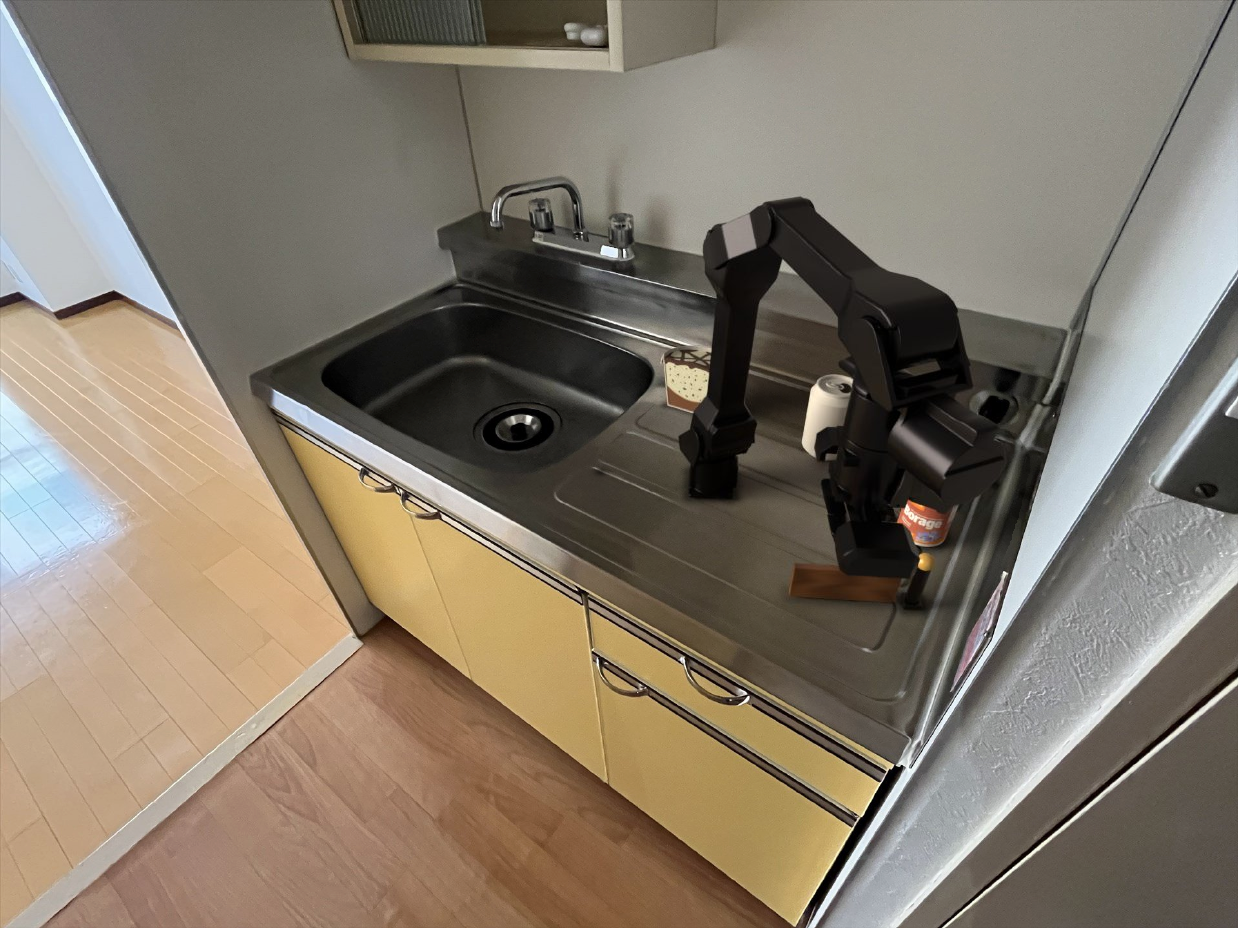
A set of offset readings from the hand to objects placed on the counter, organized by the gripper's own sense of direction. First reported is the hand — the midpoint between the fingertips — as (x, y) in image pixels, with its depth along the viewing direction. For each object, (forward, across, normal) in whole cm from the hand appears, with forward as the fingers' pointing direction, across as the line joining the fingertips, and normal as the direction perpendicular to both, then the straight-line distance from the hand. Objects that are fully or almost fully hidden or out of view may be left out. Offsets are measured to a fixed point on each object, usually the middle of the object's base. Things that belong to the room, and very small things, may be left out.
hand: (844, 557), depth 66 cm
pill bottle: (+13, +18, -15) cm, 27 cm away
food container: (+13, +48, +15) cm, 52 cm away
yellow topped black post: (+13, +6, -11) cm, 18 cm away
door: (+13, +6, -2) cm, 14 cm away
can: (+13, +36, -5) cm, 39 cm away
